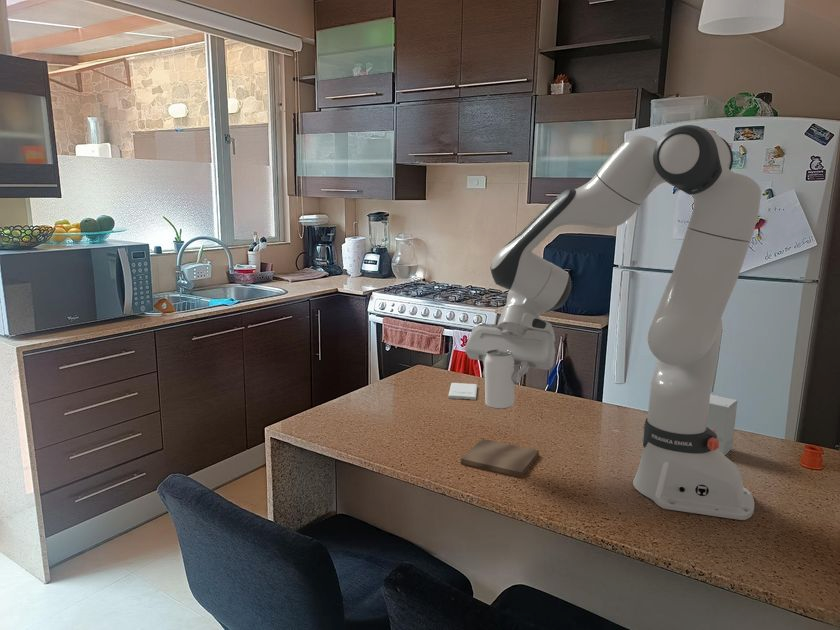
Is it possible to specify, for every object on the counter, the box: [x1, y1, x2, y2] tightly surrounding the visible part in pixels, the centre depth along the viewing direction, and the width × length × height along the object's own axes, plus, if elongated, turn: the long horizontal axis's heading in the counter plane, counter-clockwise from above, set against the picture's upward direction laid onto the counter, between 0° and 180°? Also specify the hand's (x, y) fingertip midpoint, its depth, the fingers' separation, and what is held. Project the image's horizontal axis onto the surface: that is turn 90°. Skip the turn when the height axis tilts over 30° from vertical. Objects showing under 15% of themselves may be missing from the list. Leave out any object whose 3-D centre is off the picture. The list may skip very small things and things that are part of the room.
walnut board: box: [460, 438, 540, 478], centre depth 138 cm, size 14×13×1 cm
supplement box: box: [707, 394, 738, 456], centre depth 144 cm, size 7×7×13 cm
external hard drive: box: [447, 382, 478, 401], centre depth 184 cm, size 2×8×12 cm
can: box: [484, 350, 515, 410], centre depth 134 cm, size 6×6×12 cm
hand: (500, 378), depth 133 cm, fingers closed on can, 5 cm apart
